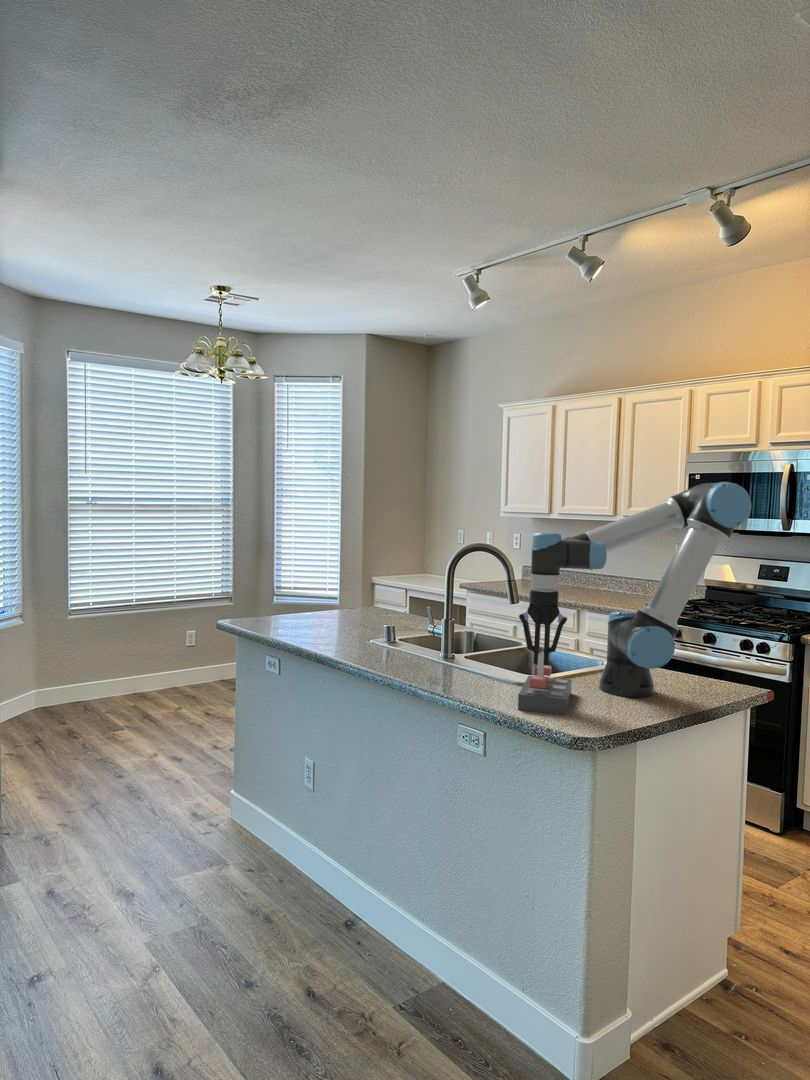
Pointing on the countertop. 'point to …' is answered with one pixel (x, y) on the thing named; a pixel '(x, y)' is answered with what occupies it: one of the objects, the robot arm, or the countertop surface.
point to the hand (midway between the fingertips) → (540, 676)
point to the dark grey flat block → (546, 696)
